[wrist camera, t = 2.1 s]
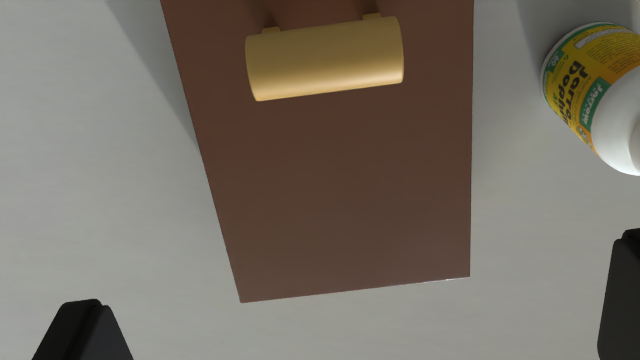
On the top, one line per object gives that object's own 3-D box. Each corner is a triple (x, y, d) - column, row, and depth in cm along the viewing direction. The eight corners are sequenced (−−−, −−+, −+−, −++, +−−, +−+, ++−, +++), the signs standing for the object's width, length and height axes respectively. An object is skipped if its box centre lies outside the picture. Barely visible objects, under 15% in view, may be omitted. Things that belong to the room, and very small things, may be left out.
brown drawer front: (162, -12, 22) (119, 26, 17) (469, -55, 21) (520, -29, 16) (242, 293, 30) (229, 381, 25) (466, 267, 29) (500, 352, 24)
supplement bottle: (635, 104, 30) (759, 194, 22) (537, 124, 31) (623, 221, 23) (641, 7, 28) (784, 69, 20) (534, 32, 28) (630, 102, 20)
